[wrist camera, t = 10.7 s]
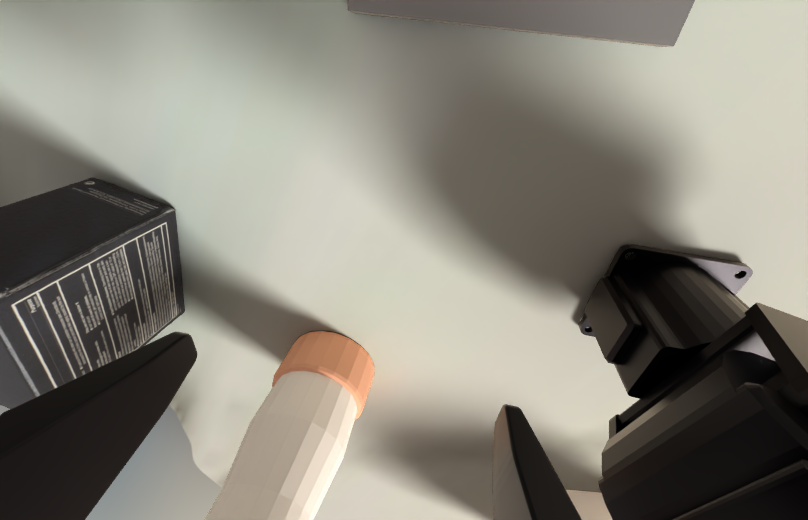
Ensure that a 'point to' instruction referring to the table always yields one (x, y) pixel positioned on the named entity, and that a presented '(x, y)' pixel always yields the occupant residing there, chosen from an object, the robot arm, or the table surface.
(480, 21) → the pin tray
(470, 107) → the table surface
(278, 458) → the pepper shaker
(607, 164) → the table surface
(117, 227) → the small box
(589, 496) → the milk
